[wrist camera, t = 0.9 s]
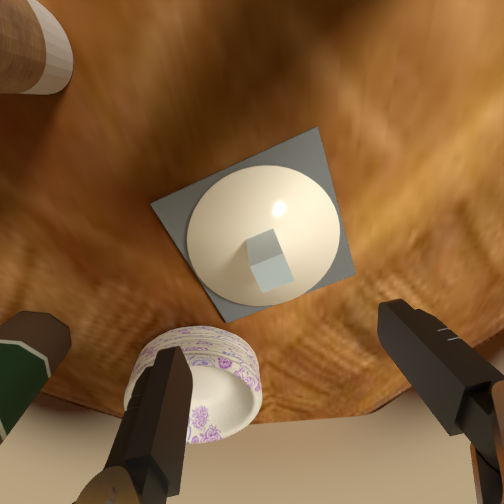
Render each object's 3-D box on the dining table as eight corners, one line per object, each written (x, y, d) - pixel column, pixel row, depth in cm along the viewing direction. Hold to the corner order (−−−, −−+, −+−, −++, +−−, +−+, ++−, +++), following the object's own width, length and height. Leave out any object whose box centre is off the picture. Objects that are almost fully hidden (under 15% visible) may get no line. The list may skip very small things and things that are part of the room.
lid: (313, 135, 22) (342, 137, 16) (350, 272, 29) (379, 307, 23) (157, 206, 24) (134, 230, 18) (228, 319, 31) (228, 361, 25)
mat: (315, 126, 22) (317, 126, 21) (353, 271, 30) (355, 274, 29) (151, 202, 24) (150, 204, 23) (226, 319, 32) (226, 323, 31)
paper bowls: (268, 316, 32) (279, 369, 25) (243, 389, 38) (245, 448, 31) (148, 299, 29) (121, 353, 22) (142, 380, 36) (120, 442, 29)
